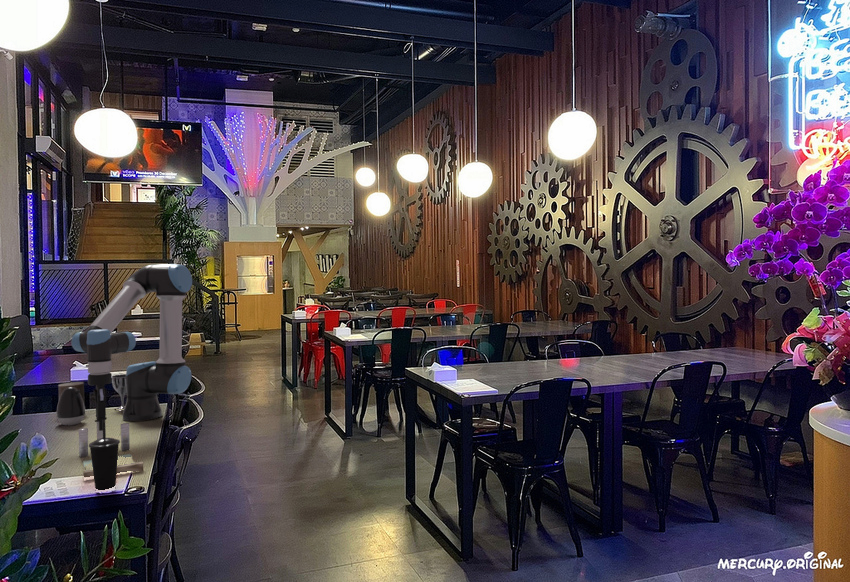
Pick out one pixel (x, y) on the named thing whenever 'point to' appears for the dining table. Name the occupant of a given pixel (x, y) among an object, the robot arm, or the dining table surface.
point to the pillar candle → (73, 384)
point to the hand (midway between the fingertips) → (101, 438)
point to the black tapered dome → (70, 407)
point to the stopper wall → (120, 468)
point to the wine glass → (120, 386)
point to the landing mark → (91, 460)
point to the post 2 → (125, 437)
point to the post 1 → (83, 442)
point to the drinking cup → (104, 461)
